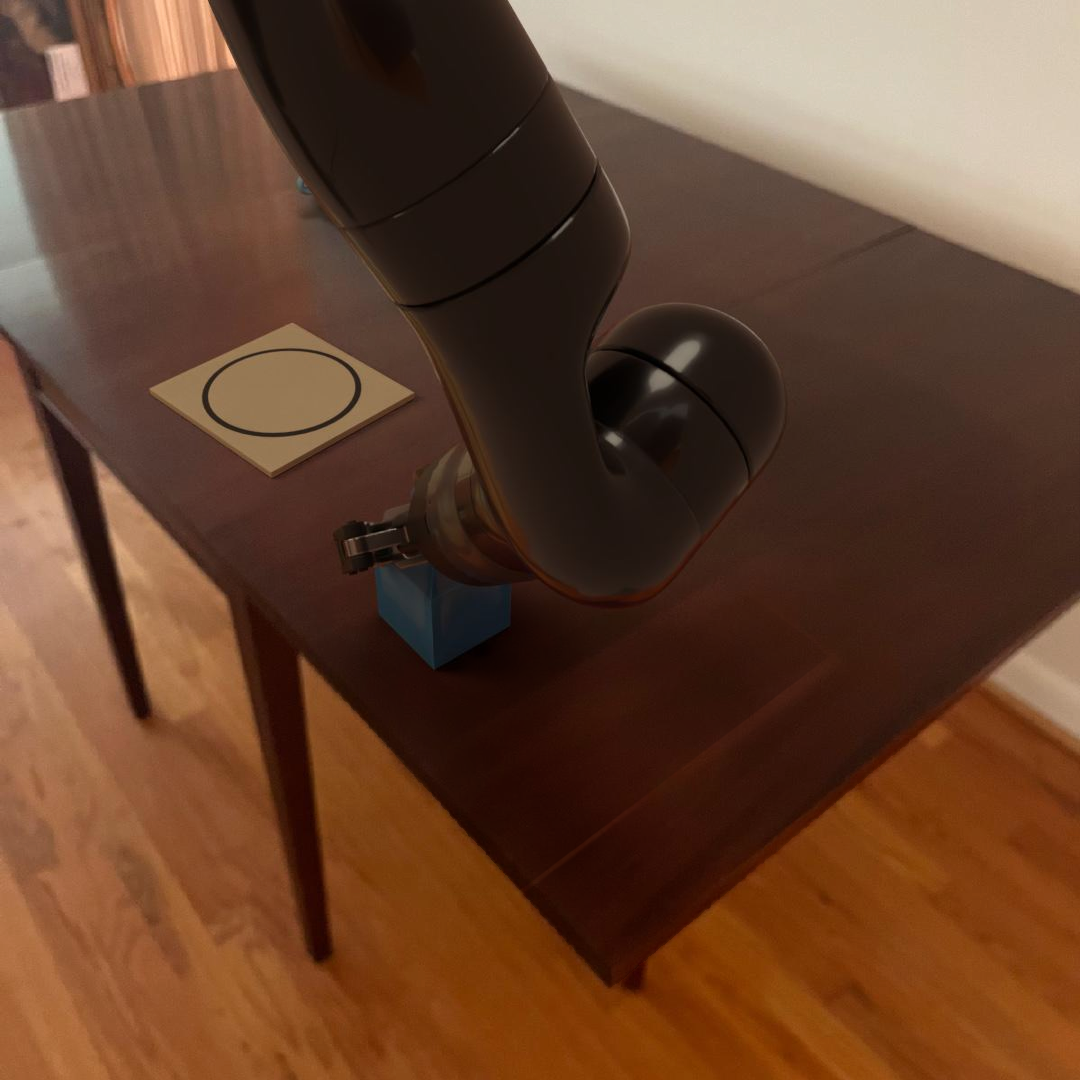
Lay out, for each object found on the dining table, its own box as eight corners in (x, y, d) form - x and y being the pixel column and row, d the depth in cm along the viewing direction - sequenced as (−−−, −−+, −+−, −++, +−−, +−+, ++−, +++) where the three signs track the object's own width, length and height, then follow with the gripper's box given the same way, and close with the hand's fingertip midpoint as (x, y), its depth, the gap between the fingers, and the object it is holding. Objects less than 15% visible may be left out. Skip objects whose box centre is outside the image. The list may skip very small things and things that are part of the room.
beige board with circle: (272, 478, 80) (270, 471, 79) (150, 394, 87) (148, 387, 87) (414, 398, 88) (414, 391, 88) (292, 328, 96) (292, 321, 95)
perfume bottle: (379, 614, 70) (365, 472, 62) (453, 575, 73) (450, 435, 65) (434, 670, 66) (427, 527, 58) (509, 625, 69) (513, 484, 61)
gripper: (617, 402, 53) (521, 452, 68) (338, 461, 48) (304, 501, 64) (654, 546, 53) (549, 564, 68) (378, 619, 48) (334, 620, 64)
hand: (431, 533), depth 66 cm, fingers closed on perfume bottle, 7 cm apart
